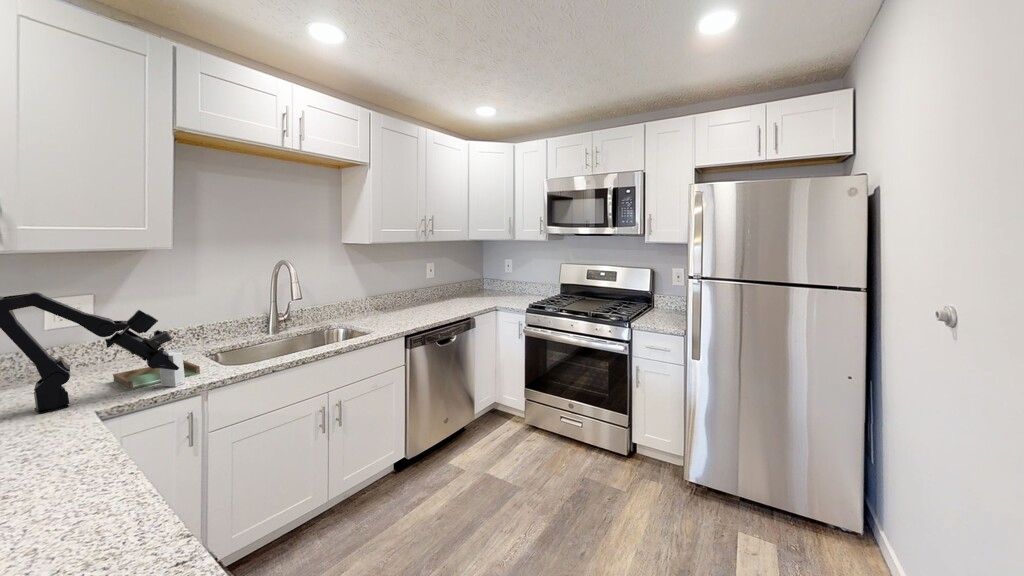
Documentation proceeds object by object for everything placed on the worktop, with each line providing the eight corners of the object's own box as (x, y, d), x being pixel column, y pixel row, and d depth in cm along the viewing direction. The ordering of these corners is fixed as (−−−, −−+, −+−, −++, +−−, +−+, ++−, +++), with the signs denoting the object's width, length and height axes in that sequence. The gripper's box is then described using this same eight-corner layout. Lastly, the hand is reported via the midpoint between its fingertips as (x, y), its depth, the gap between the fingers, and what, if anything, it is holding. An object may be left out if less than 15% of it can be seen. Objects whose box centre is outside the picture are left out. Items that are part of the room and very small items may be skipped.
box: (129, 390, 149) (128, 382, 149) (113, 381, 158) (113, 374, 157) (200, 373, 168) (199, 366, 167) (183, 366, 176) (182, 359, 176)
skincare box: (185, 383, 157) (183, 352, 156) (175, 387, 153) (172, 355, 152) (171, 382, 158) (168, 351, 156) (160, 386, 154) (157, 355, 152)
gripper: (157, 329, 143) (199, 354, 153) (150, 321, 156) (189, 344, 165) (129, 356, 139) (174, 379, 148) (123, 345, 151) (165, 368, 161)
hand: (176, 366), depth 156 cm, fingers closed on skincare box, 7 cm apart
